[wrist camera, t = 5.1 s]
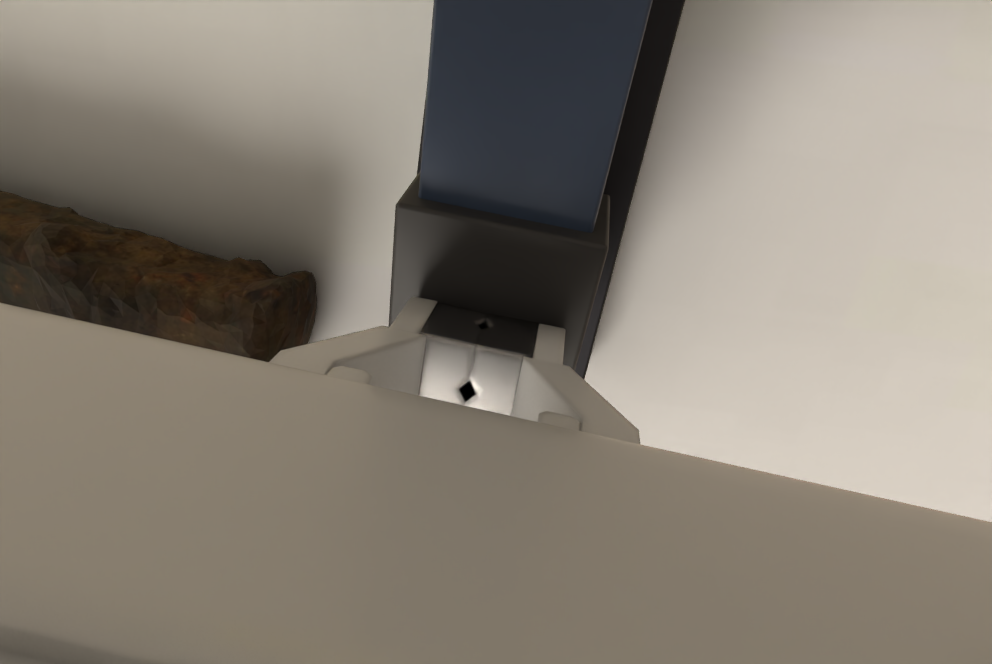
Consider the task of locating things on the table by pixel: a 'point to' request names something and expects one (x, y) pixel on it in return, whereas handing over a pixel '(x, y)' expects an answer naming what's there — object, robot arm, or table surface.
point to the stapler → (629, 145)
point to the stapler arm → (517, 159)
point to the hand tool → (148, 283)
